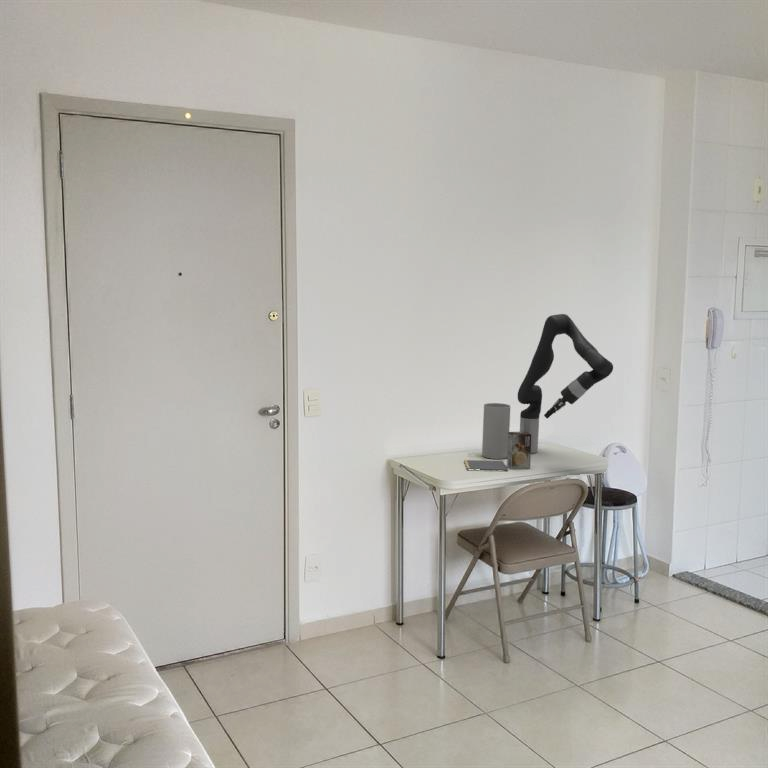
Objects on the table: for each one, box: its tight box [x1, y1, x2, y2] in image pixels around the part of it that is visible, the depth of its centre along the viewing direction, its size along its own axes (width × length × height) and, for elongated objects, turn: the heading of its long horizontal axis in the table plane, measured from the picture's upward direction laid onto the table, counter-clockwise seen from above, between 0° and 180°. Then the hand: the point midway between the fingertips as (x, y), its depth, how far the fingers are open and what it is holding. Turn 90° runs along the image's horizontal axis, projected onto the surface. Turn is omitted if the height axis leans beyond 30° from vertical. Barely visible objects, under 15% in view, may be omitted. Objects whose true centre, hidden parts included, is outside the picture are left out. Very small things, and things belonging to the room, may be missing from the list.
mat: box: [463, 459, 509, 472], centre depth 360 cm, size 16×18×1 cm
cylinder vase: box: [481, 402, 511, 460], centre depth 378 cm, size 12×12×25 cm
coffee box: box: [506, 431, 532, 470], centre depth 359 cm, size 9×6×16 cm
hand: (546, 415), depth 353 cm, fingers open, 8 cm apart
